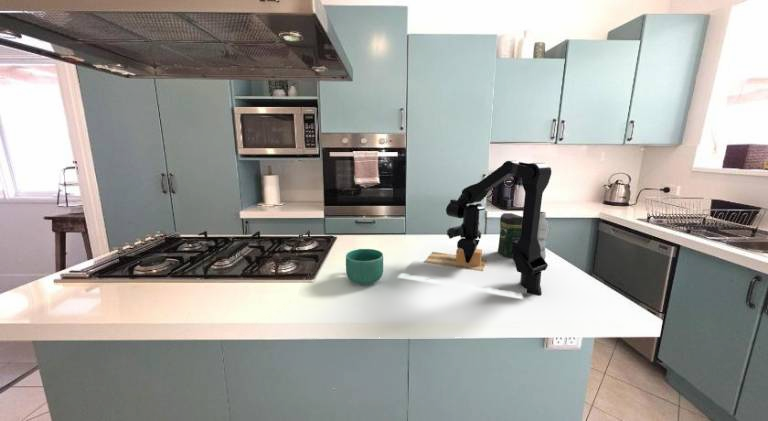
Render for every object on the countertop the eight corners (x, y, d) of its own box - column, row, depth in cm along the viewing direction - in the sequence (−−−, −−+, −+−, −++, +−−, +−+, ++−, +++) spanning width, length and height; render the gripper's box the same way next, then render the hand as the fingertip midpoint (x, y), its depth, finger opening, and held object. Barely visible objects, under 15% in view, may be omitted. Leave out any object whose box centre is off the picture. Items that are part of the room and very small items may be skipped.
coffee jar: (524, 261, 122) (528, 216, 119) (506, 262, 121) (509, 216, 118) (511, 253, 132) (515, 211, 129) (494, 254, 131) (497, 212, 128)
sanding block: (480, 266, 113) (480, 253, 112) (455, 262, 116) (456, 250, 115) (481, 262, 117) (482, 249, 116) (458, 258, 121) (458, 246, 120)
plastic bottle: (523, 259, 124) (527, 211, 121) (534, 257, 127) (539, 210, 123) (537, 264, 118) (541, 214, 115) (548, 262, 121) (553, 213, 118)
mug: (385, 288, 98) (385, 259, 96) (346, 290, 96) (345, 261, 95) (379, 269, 114) (379, 244, 112) (345, 270, 112) (345, 246, 111)
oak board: (482, 275, 108) (482, 271, 108) (423, 266, 117) (423, 262, 117) (486, 262, 121) (486, 258, 121) (432, 255, 130) (432, 251, 129)
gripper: (454, 214, 125) (452, 250, 128) (443, 223, 109) (442, 265, 111) (482, 216, 121) (480, 254, 124) (476, 226, 104) (473, 270, 107)
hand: (468, 260), depth 117 cm, fingers closed on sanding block, 5 cm apart
